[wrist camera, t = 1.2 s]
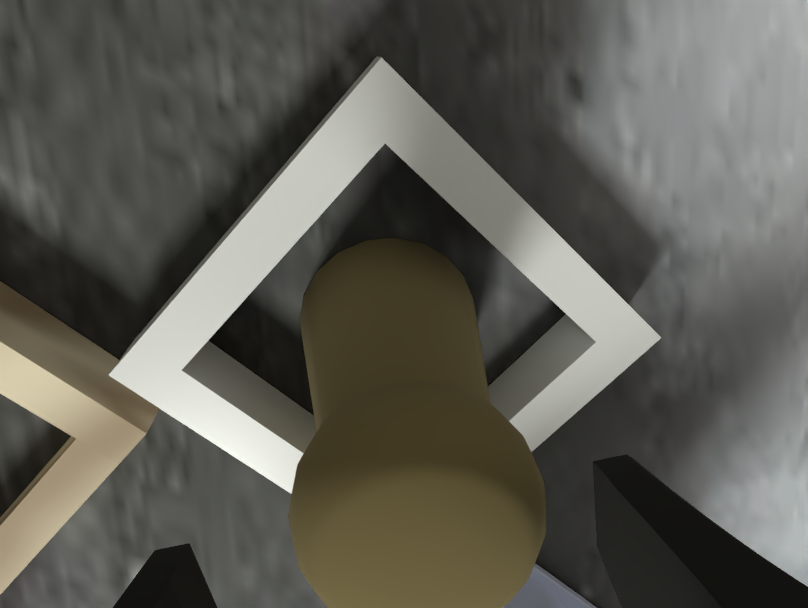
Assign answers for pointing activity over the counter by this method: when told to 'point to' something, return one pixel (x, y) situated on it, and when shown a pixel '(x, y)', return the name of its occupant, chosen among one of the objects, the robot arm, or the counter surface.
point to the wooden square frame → (61, 422)
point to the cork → (407, 442)
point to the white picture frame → (294, 214)
